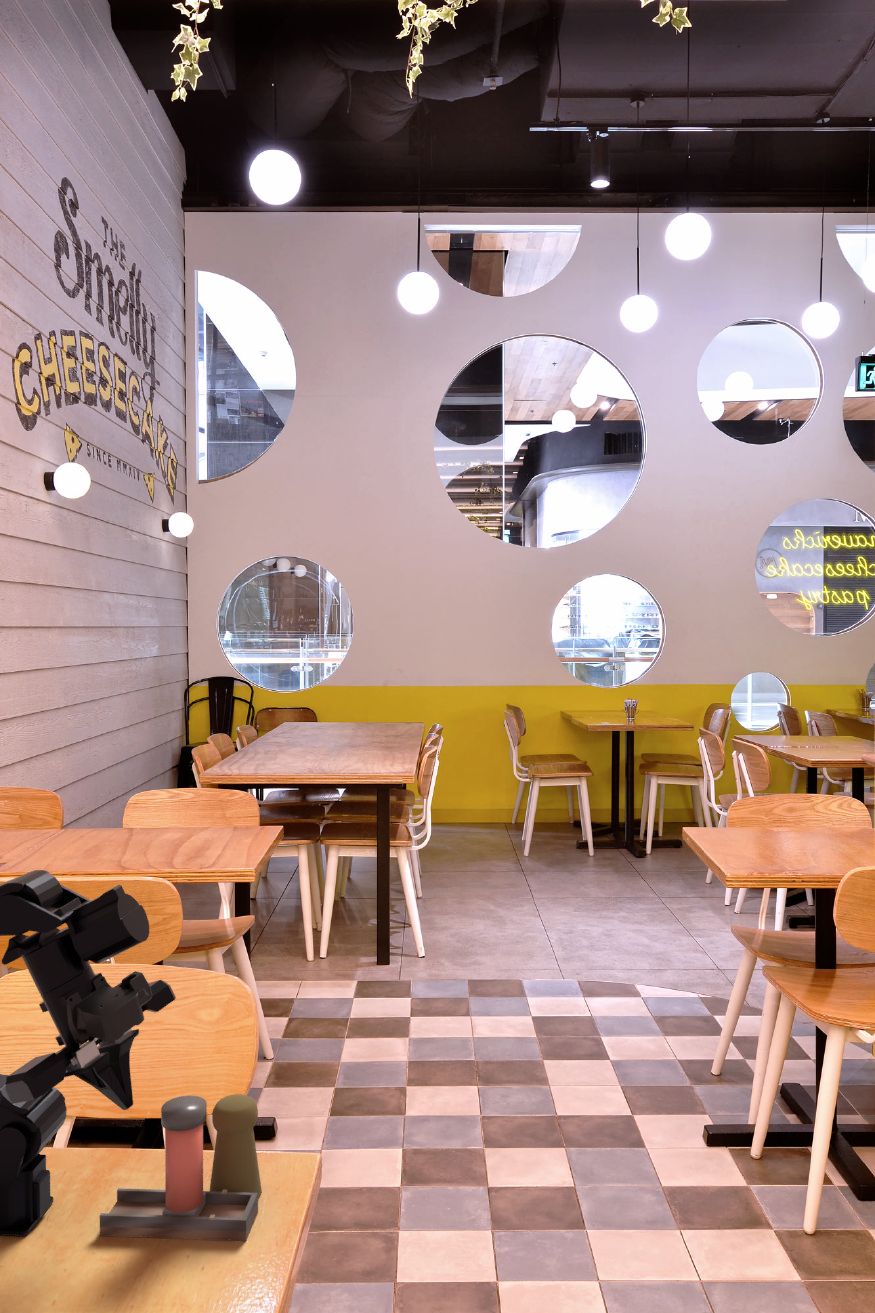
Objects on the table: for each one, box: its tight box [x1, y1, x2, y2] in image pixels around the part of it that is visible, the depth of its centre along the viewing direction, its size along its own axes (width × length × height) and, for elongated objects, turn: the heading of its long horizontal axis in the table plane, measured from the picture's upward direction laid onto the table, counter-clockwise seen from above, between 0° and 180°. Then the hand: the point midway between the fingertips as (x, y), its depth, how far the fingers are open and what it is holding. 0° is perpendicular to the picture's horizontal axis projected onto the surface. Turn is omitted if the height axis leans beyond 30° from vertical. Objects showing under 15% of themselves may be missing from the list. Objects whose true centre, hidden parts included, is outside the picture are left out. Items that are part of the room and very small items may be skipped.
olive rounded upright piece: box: [209, 1093, 263, 1200], centre depth 107 cm, size 6×6×11 cm
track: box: [99, 1187, 259, 1242], centre depth 101 cm, size 16×5×2 cm, turn 87°
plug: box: [160, 1095, 208, 1216], centre depth 101 cm, size 5×5×12 cm
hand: (128, 1107), depth 102 cm, fingers closed
